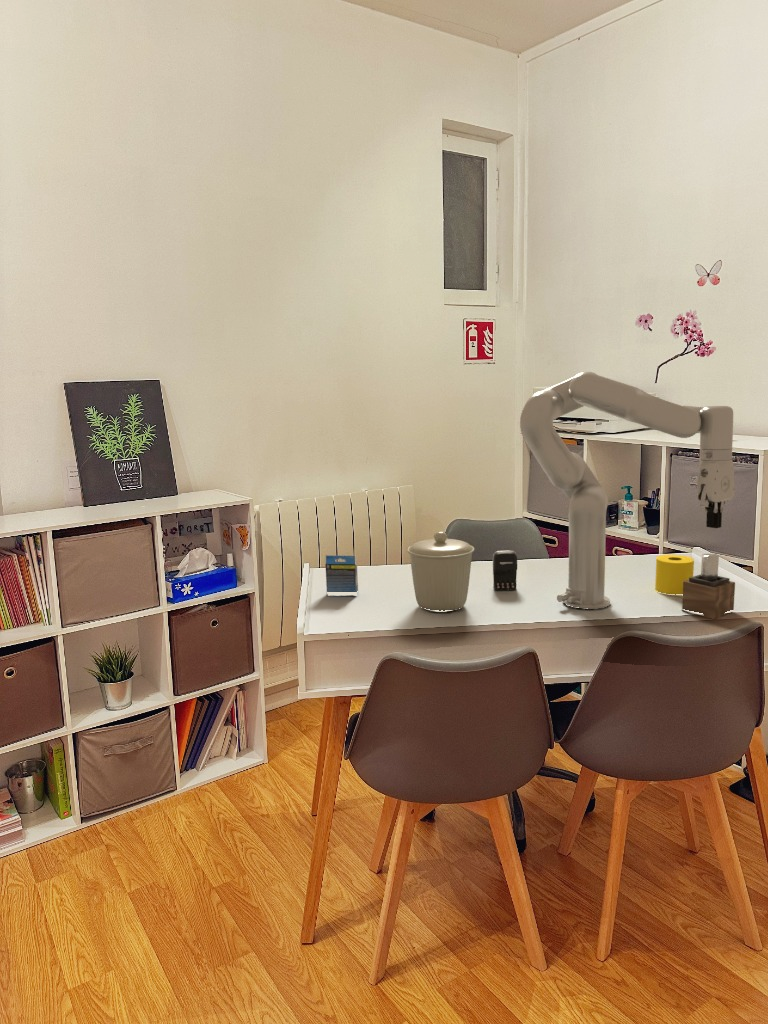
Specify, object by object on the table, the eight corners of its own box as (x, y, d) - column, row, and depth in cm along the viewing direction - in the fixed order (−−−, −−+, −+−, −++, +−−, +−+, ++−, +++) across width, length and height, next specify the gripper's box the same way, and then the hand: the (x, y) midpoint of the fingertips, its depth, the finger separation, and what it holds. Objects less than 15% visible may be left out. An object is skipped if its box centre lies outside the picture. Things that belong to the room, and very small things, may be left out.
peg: (711, 588, 203) (712, 558, 202) (697, 585, 207) (698, 555, 205) (720, 585, 206) (721, 555, 204) (706, 582, 209) (707, 552, 208)
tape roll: (696, 596, 221) (697, 563, 219) (658, 595, 223) (659, 562, 221) (688, 586, 231) (689, 554, 229) (652, 585, 232) (653, 554, 231)
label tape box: (358, 593, 233) (357, 552, 231) (356, 597, 229) (355, 555, 227) (329, 593, 234) (327, 552, 232) (326, 596, 230) (324, 555, 228)
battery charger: (494, 592, 231) (494, 553, 229) (492, 588, 234) (492, 550, 232) (518, 591, 231) (518, 552, 228) (516, 587, 234) (516, 549, 232)
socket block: (713, 619, 201) (715, 584, 200) (682, 611, 208) (683, 577, 207) (733, 612, 206) (735, 578, 205) (702, 604, 214) (703, 571, 212)
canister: (483, 601, 221) (483, 527, 218) (460, 620, 205) (460, 541, 202) (424, 595, 229) (422, 523, 226) (397, 613, 213) (395, 536, 210)
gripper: (712, 459, 193) (710, 533, 196) (746, 453, 201) (743, 524, 205) (684, 457, 199) (683, 529, 202) (719, 452, 207) (717, 521, 211)
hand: (713, 527), depth 203 cm, fingers closed
